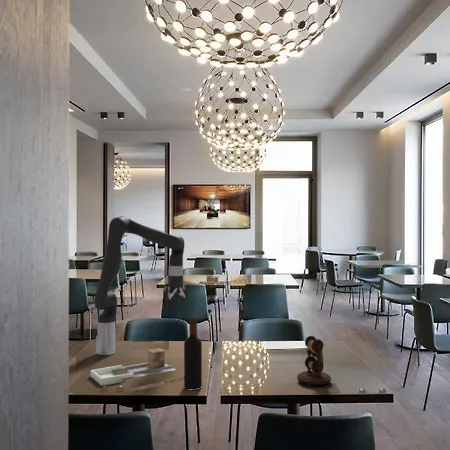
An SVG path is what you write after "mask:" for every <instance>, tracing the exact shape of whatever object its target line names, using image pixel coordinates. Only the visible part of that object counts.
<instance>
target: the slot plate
mask: <svg viewBox="0 0 450 450" xmlns="http://www.w3.org/2000/svg"><path fill="white" fill-rule="evenodd" d="M123 369H124V370H125V371H127V373H134V377H135V378H140V377H145V376H149V375H156V374H157V375H158V374H161V373H167V372H172V371H176V370H177V369H176V368H174V367H173V365H172V364H169V365H168V364H167V363H165V366H163V367H157V368H152V369H151V368H150V367H148V362H143V363H138V364H132V365H125V366H123Z"/></svg>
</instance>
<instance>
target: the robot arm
mask: <svg viewBox="0 0 450 450" xmlns="http://www.w3.org/2000/svg"><path fill="white" fill-rule="evenodd" d="M125 233H126V234H133V235H135V236H136V235H137V236H139V237H140V238H141V239H142V238H143V239H144V240H146V241H148V242H149V243H150V242H151V243H154V244H158V245H161V246H163V247H165V248H168V249H170V250H171V251H170V253H171V254H170V255H169V257H168V259H169V263H168V264H169V265H168V286H163V292H162V293H163V294H162V296H163V299H165V300H166V306H167V307H168V308H171V307H172V300H171V299H172V298H173V297H174V295H177V294H178V295H179V296H180V306H184V305H185V302H186V299H185V298H186V297H188V296H189V286H188V284H186V283H185V284H184V258H183V257H184V251H185V240H184V238H183V236H181V235H173V234H169V233H167V232H166V231H163V230H160V229H157V228H154V227H150V226H147V225H143V224H141V223H138V222H137V221H134V220H132V219H130V218H128V217H126V216H123V215H120V216H117V217H113V218H112V219H111V221H110V222H109V225H108V235H107V243H106V246H105V252H104V253H105V254H104V258H103V262H102V266H101V272H100V278H99V282H98V285H97V288H96V292H95V294H94V300H93V303H94V306H95V307H94V308H95V309H96V310H98V311H102V312H101V314H99V315H98V316H97V335H96V336H95V348H96V349H95V354H96V355H99V356H111V355H115V353H116V317H117V314H118V313H117V310H118V299H117V295H116V293H115V292H114V291H112V290H109V289H110V287H111V284H112V283H113V281H114V280H115V279H116V277H117V276H118V275H119V273H120V270H121V266H122V259H123V257H122V256H123V255H122V248H121V247H122V246H121V244H122V241H123V240H122V239H123V237H124V234H125Z"/></svg>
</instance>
